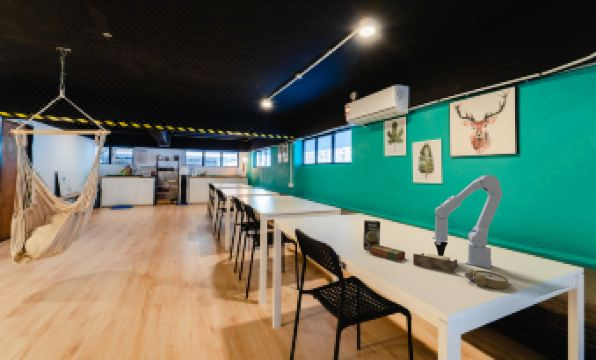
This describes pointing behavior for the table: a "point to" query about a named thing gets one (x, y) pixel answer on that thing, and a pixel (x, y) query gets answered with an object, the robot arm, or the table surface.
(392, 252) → the carton
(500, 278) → the alarm clock
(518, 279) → the table surface
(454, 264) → the frame
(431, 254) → the small carton
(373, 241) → the coffee box
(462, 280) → the table surface
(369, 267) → the table surface
